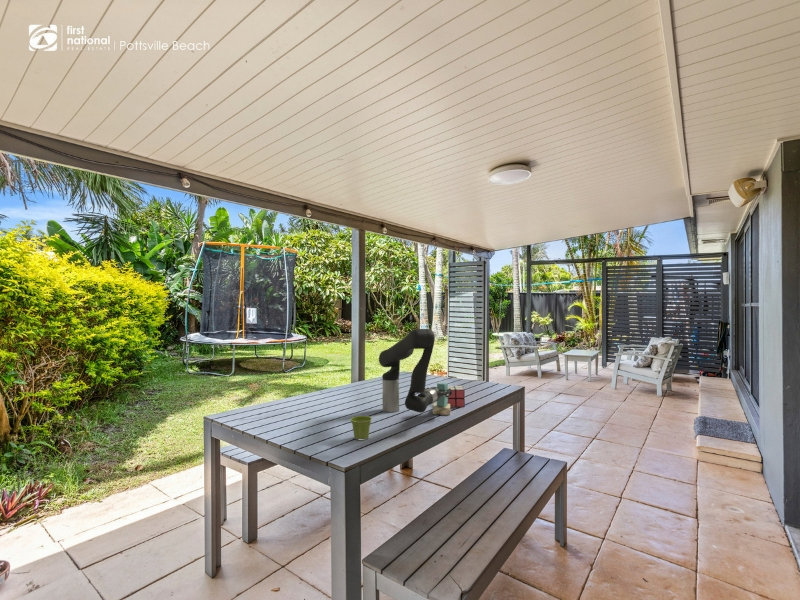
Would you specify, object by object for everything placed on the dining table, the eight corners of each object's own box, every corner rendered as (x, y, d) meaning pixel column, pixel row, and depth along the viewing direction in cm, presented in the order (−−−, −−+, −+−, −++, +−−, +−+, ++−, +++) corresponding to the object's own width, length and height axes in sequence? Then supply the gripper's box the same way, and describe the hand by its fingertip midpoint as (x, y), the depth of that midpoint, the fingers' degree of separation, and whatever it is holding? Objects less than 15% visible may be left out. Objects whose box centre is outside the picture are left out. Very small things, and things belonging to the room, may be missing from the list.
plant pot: (351, 435, 181) (351, 415, 181) (372, 434, 182) (371, 415, 182) (350, 442, 172) (349, 422, 172) (372, 441, 173) (371, 421, 173)
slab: (432, 415, 212) (432, 407, 212) (434, 410, 221) (433, 403, 221) (449, 415, 211) (449, 408, 211) (450, 411, 220) (450, 403, 220)
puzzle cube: (464, 407, 226) (464, 389, 226) (447, 407, 226) (446, 389, 226) (462, 402, 236) (462, 385, 236) (445, 402, 236) (445, 385, 236)
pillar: (444, 407, 213) (444, 384, 213) (436, 405, 215) (437, 383, 215) (447, 405, 216) (448, 383, 217) (440, 404, 219) (440, 382, 219)
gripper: (443, 390, 200) (455, 383, 214) (417, 387, 207) (430, 381, 221) (443, 405, 200) (455, 397, 214) (418, 401, 207) (431, 395, 221)
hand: (442, 389), depth 217 cm, fingers open, 8 cm apart
